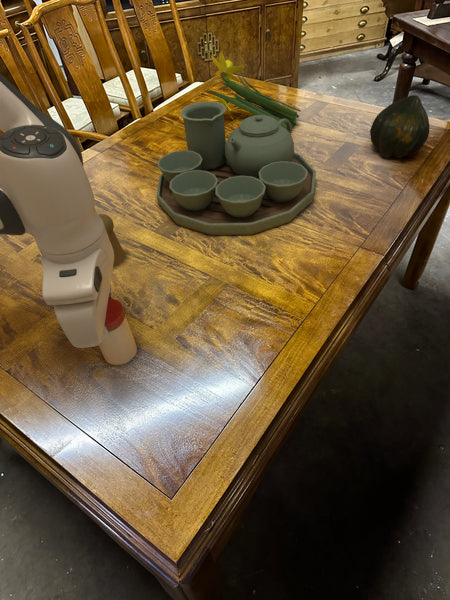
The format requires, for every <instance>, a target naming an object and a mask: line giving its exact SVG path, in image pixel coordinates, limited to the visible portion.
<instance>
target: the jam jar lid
mask: <svg viewBox="0 0 450 600" xmlns="http://www.w3.org/2000/svg"><path fill="white" fill-rule="evenodd" d="M126 313H127V312H126V311H125V307H124V306H123V304H122V302H121V301H120V300H118V299H116V298H114V299H111V298H108V304H107V311H106V318H105V324H107V325H108V328H109V331H111V330H113V329H115V328H117V327H118V326H119V325H121V323H122V322H123V321H124V318H125V316H126Z"/></svg>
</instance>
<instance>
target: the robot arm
mask: <svg viewBox="0 0 450 600" xmlns="http://www.w3.org/2000/svg"><path fill="white" fill-rule="evenodd" d="M0 131H1V132H2V134H1V135H0V235H4V236H23V235H25V234H29V235H31V236H32V237H33V238H34V240H35V243H36V246H37V249H38V250H39V252H40V254H41V256H40V262H41V268H42V288H41V296H42V299H43V301H44V303H45V304H46V305H47V306H53V310H54V315H55V317H56V320H57V322H58V324H59V326H60V328H61V329H62V331H63V333H64V334H65V336H66V338H67V340H68V341H69V343H70V344H71V345H72V346H73V347H75V348H78V349H84V348H92V347H97V346H98V345H100V344H101V343H102V339H108V338H109V328H108V325H107V324H105V318H106V311H107V304H108V298H111V299H115V295H114V293H113V292H114V291H113V289H112V278H113V277H112V275H113V269H114V267H113V263H114V251H113V248H112V245H111V242H110V240H109V237H108V235H107V232H106V229H105V226H104V223H103V221H102V219H101V217H100V216H99V215H98V214H99V213H98V212H97V210H96V205H95V204H96V203H95V202H96V201H95V200H96V199H95V195H94V191H93V188H92V185H91V183H90V180H89V178H88V175H87V172H86V170H85V168H84V157H83V154H82V150H81V147H80V145H79V143H78V141H77V140H76V138H75V137H74V136H73V135H72V133H71V132H70V131H69V130H68V129H67V128H65V127H64V126H63V125H61V124H60V123H59V122H58V121H57V120H55V119H54V118H52V117H50V116H49V115H47V114H46V113H45V112H43V111H42V109H40V108H38V107H37V106H36V105H35V104H34V103H33V102H32V101H30V100H29V99H28V98H27V96H26V95H24V94H23V93H22V91H20V90H19V89H18V88H17V87H16V86H15V85H14V84H13V83H12V82H10V81H9V80H8V79H7V78H6V77H5V76H4V75H3V74H2V73H1V72H0ZM98 347H99V346H98Z"/></svg>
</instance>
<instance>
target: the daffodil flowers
mask: <svg viewBox="0 0 450 600" xmlns="http://www.w3.org/2000/svg"><path fill="white" fill-rule="evenodd" d="M218 56H219V57H218V60H217V59H216V58H215V56H213V55H212V54H210V57H211V60H212V62H213V64H214V65H215V66H216V68H217V69H218V70H217V71H215V73H214V75H215V76H217V78H220V79H221V80H222V81H221V82H220V83H221V84H222V85H224V86H222V87H220V88H217V89H216V90H222V89H226V88H229V89H230V90H231V91H232V93H231V94H232V95H233V97H231V96H228V95H226V94H223V93H220V92H217V91H214V90H212V89H208V92H210V93H205V95H207V96H209V97H211V98H213V99H214V100H211V101H212V102H218V103H221V104H222V105H224V106H225V108H226V111H225V112H224V115H226V113H228V114H229V115H230V117H231V119H232V120H234V118H233V117H232V114H231V113H230V111H232V109H233V108H235V109H234V111H236V110H240V109H242V110H244V111H246V112H248V113H250V114H252V115H253V116H255V115H266V116H271V117H273V118H274V119H276V120H277V121H279V120H281V119H284V118H285V119H287V120H289V121H290V123H291V126H292V127H293V126H296V125H297V121H298V119H299V118H300V115H299V114H298V112H301V109H300V108H296V107H294V106H292V105H290V104H287V103H285V102H284V101H280V100H278V99H275V98H273V97H270V96H267V95H265V94H264V93H262V92H260V91H259V90H257V88H255V87H254V86H253V85H251V83H249V82H248V81H247V80H246V78H245V76H244V75H243V73H242V71H241V69H243V68H245V66H246V65H245V64H241V65H234V63H233V61H232V60H230V59H226V57H225V56H224V52H223V50H220V52H219V55H218ZM239 71H240V74H241V76H240V75H239V73H238V72H239ZM234 73H236V76H237V77H238V78H237V77H236V76H235V75H234ZM241 77H242V78H241ZM236 82H238V83H236ZM239 83H240V84H239ZM241 84H242V85H241ZM211 93H212V94H211ZM228 104H232V105H234V106H231V107H230V106H229V105H228ZM229 110H230V111H229ZM282 127H284V128H285V129H286V130H287V125H286V124H285V123H283V124H282Z"/></svg>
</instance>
